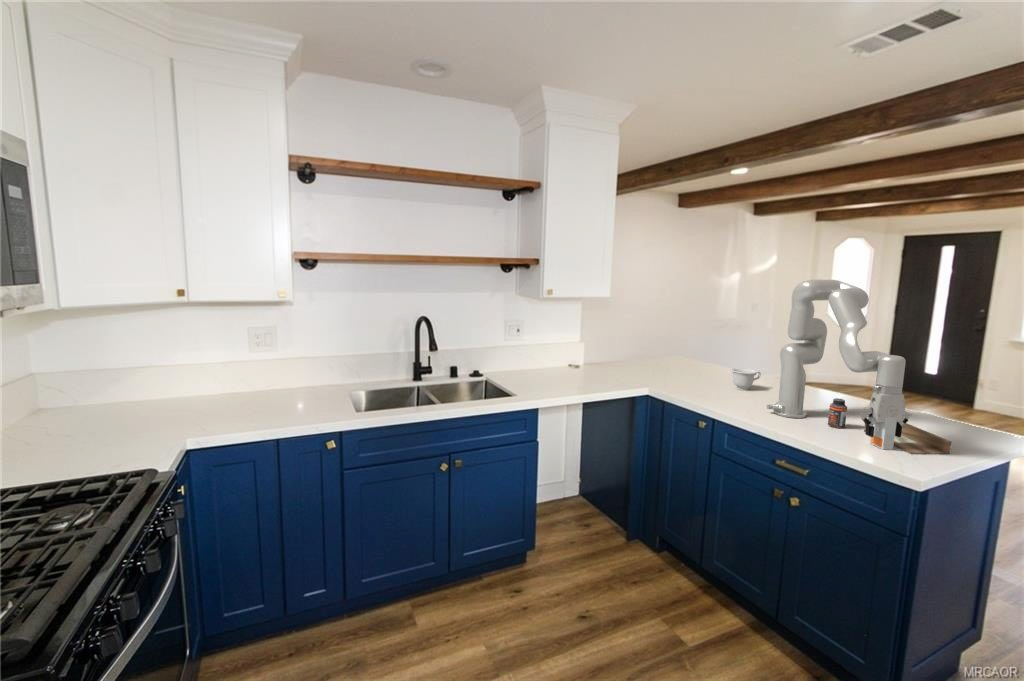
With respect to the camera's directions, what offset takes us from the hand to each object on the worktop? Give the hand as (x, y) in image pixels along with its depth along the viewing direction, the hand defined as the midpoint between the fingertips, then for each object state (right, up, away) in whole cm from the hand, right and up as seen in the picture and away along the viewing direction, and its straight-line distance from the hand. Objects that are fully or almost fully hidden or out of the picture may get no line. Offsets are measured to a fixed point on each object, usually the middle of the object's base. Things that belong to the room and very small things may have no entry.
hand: (882, 435), depth 173 cm
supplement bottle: (-2, -1, +23) cm, 23 cm away
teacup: (-10, +8, +82) cm, 83 cm away
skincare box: (0, -4, +1) cm, 4 cm away
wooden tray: (+12, -3, +5) cm, 13 cm away
